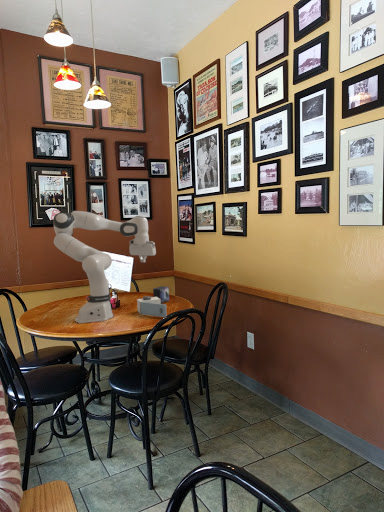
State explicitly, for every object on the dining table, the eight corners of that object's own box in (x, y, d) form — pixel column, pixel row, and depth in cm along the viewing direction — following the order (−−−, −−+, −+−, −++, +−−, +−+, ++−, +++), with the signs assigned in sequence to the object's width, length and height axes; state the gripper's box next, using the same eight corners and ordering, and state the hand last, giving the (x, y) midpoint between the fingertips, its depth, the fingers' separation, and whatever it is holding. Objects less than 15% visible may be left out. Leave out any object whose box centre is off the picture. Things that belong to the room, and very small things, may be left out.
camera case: (141, 314, 220) (140, 299, 219) (137, 311, 227) (136, 296, 226) (161, 311, 225) (160, 296, 224) (157, 308, 232) (156, 294, 231)
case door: (139, 314, 218) (138, 302, 217) (141, 313, 220) (140, 301, 219) (164, 318, 208) (164, 305, 207) (166, 317, 209) (166, 304, 209)
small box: (160, 304, 245) (159, 289, 244) (153, 303, 249) (152, 288, 248) (169, 301, 254) (169, 286, 253) (162, 300, 258) (161, 285, 257)
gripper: (157, 240, 228) (158, 262, 229) (134, 240, 239) (135, 261, 241) (151, 241, 223) (152, 263, 224) (127, 241, 234) (128, 262, 236)
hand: (143, 262), depth 233 cm, fingers closed
